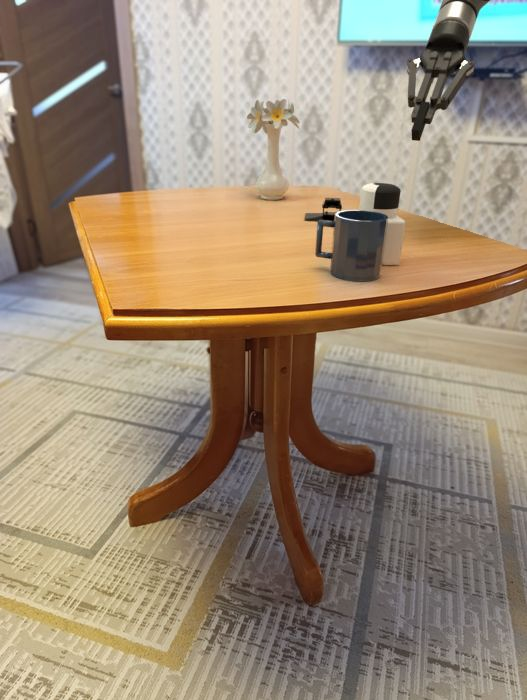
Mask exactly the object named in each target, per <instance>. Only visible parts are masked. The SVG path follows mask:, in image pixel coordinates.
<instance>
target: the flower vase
mask: <svg viewBox="0 0 527 700" xmlns="http://www.w3.org/2000/svg"><path fill="white" fill-rule="evenodd" d="M287 102H288V103H287ZM264 103H265V107H264ZM294 113H295V106H294V103H293V102H290V100H288V101H287V99H286V98H283V99H281V100H279V99H276V100H275V101H274V102H273V101H271V100H267V101H266V102H265V101H264V100H262V101H261V103H260V101H259V99H256V100H255V103H254V106H251V108H250V112H249V113H248V114H247V116H246V119H247V120H250V122H249V124H248V129H252V133H254V134H257V133H258V132H260V131H261V130H263V132H264V133H265V134H266V135H267V155H266V163H265V166H264V168H263V169H264V170H263V172H262V173H261V174H260V176H259V177H258V178H257V180H256V182H255V184H254V185H255V189H256V191H257V192H258V193H259V194H260V198H261V199H262V200H268V201H279V200H282V199H283V198H284V195H285V194H286V193H287V192H288V190H289V188H290V182H289V180H288V178H287V177H286V176H285V175H284V173H283V171H282V168H281V163H280V136H281V130H282V128H283V127H287V126H288V125H289V123H288V121H289V122H290V123H292V124H293V125H294V126H295V127H296V128H297V129H298V130H300V127H299V125H298V124H300V119H299V118H298V116H296V115H295V114H294Z"/></svg>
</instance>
